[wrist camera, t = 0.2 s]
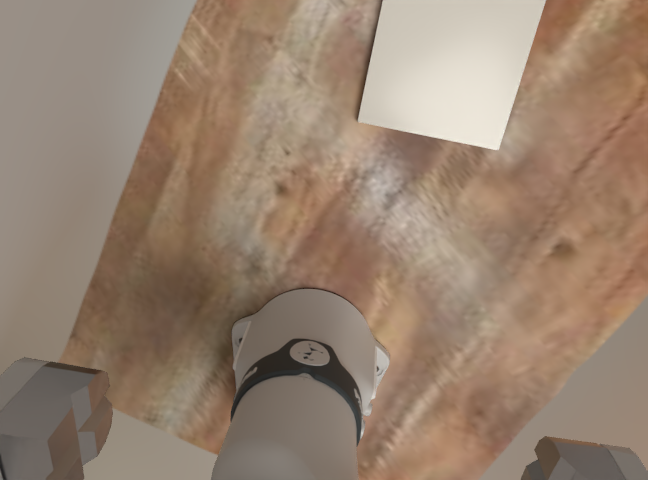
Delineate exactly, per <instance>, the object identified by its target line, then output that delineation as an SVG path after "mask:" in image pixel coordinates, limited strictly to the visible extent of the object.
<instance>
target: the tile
mask: <svg viewBox="0 0 648 480" xmlns="http://www.w3.org/2000/svg"><path fill="white" fill-rule="evenodd" d="M545 1H546V0H383V2H382V6H381V11H380V16H379V21H378V25H377V30H376V35H375V40H374V45H373V49H372V54H371V59H370V64H369V69H368V73H367V78H366V83H365V88H364V93H363V97H362V102H361V107H360V112H359V116H358V122H361V123H366V124H371V125H376V126H380V127H385V128H390V129H395V130H400V131H405V132H410V133H415V134H420V135H425V136H430V137H435V138H440V139H445V140H449V141H454V142H459V143H464V144H469V145H474V146H479V147H484V148H489V149H494V150H499V147H500V144H501V141H502V137H503V134H504V131H505V128H506V125H507V122H508V118H509V115H510V112H511V109H512V106H513V103H514V99H515V96H516V93H517V90H518V87H519V84H520V80H521V77H522V74H523V71H524V68H525V65H526V61H527V58H528V55H529V52H530V49H531V46H532V43H533V39H534V36H535V33H536V30H537V27H538V24H539V20H540V17H541V14H542V11H543V8H544V5H545Z"/></svg>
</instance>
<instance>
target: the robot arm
mask: <svg viewBox="0 0 648 480" xmlns="http://www.w3.org/2000/svg"><path fill="white" fill-rule="evenodd" d="M240 338H243V339H242V340H241V339H240ZM232 345H233V357H234V363H233V370H235V381H236V394H235V396H234V400H233V402H234V403H233V406H232V410H231V424H230V426H229V429H228V431H227V434H226V436H225V439H224V442H223V444H222V447H221V449H220V452H219V455H218V457H217V460H216V462H215V465H214V468H213V472H212V477H211V480H359V479H358V467H357V446H358V443H359V441H360V439H361V438H362V435H363V433H364V429H365V421H364V420H363V415H365V416H369V415H370V413H371V411H372V404H371V403H370V401H371V399H374V398H375V395H376V388H377V386H378V385H379V383H380V381H381V379H382V377H383V375H384V373H385V372H386V370H387V368H388V366H389V363H390V355H389V353H388V352H387V350H386V349H385V348H384V347H383V346H382V345H381V344H380V343H378V342H377V341H376V340H375V339H374V337H373V335H372V333H371V331H370V329H369V326H368V324H367V322H366V320H365V319H364V317H363V316H362V314H361V313H360V312H359V311H358V310H357V309H356V308H355V307H354V306H353V305H352V304H351V303H349V302H348V301H347V300H345V299H343V298H342V297H340V296H338V295H336V294H333V293H330V292H327V291H323V290H317V289H299V290H293V291H289V292H286V293H284V294H281V295H279V296H277V297H275V298H274V299H272V300H271V301H269V302H268V303H267V304H266V305H265V306H264V307H263V308H262V309H261V310H260V311H258V312H257V313H256V314H254V315H251V316H248V317H245V318H242V319H240V320H238V321H237V322H235V324H234V325H233V328H232ZM377 366H378V368H377ZM109 387H110V384H109V378H108V373H107V372H104V371H102V370H96V369H90V368H85V367H79V366H73V365H67V364H62V363H56V362H48V361H42V360H36V359H31V358H25V357H24V358H22V359H20V360H17V361H15V362H14V363H13V364H12V365H11V366H10V367H9V368H8V369H7V370H6V371H5V372H4V373H3V374H2V375H1V376H0V480H84V474H83V467H82V466H83V465H84V464H86V463H87V462H89V461H91V460H92V459H94V458H95V457H97V456H98V454H99V453H100V451H101V449H102V447H103V445H104V443H105V442H106V439H107V436H108V433H109V430H110V428H111V423H112V415H113V412H112V404H111V402H110V401H109V400H108V399H107V398H106V397H105V396H104V394H105V393H106V391H107V390H108V388H109ZM535 452H536V455H537V458H538V460H536V461H534V462H532V463H531V464H529V465H527V466H526V468H525V470H524V473H523V475H522V477H521V480H648V471H647V470H646V468H645V467H644V465H643V463H642V462H641V460H640V459H639V457H638V456H637V455H636V453H634V452H633V451H632V450H631V449H630V448H625V447H618V446H610V445H604V444H597V443H591V442H582V441H576V440H568V439H562V438H554V437H547V436H545V437H543V438H542V439H541V440H539V442H538V444H537V446H536V448H535Z"/></svg>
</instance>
